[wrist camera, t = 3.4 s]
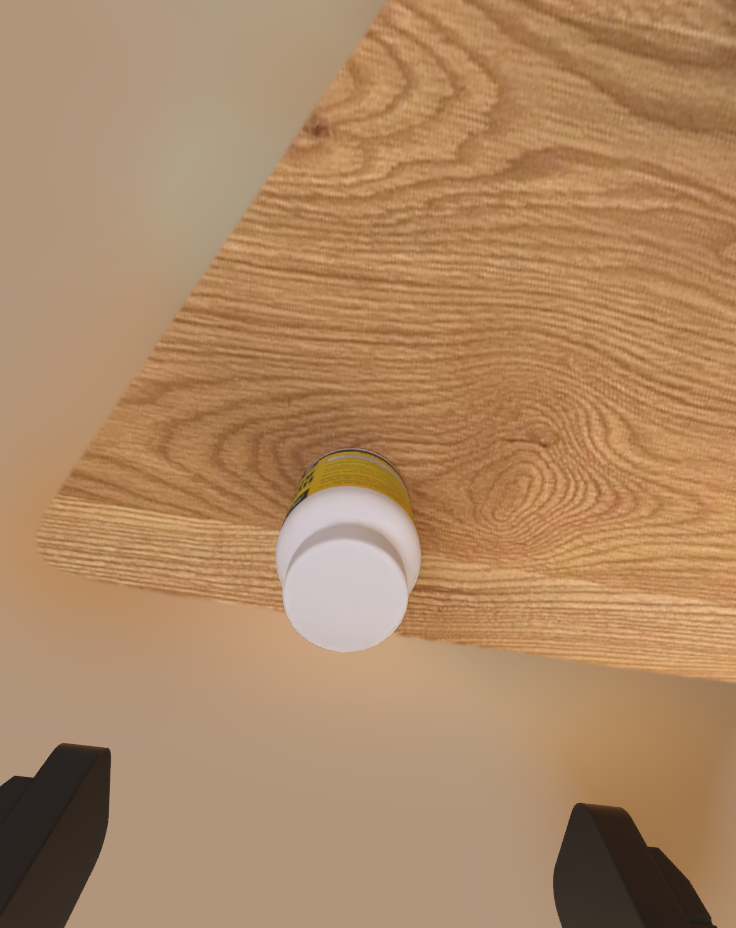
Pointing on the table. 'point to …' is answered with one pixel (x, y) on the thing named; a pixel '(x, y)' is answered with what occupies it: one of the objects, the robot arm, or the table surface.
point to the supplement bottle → (348, 551)
